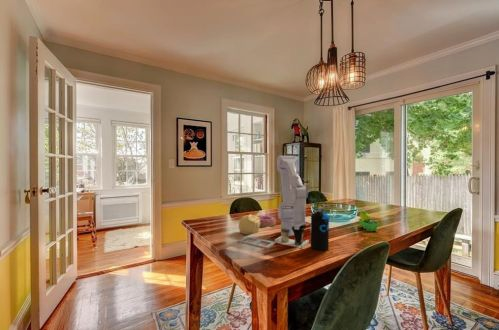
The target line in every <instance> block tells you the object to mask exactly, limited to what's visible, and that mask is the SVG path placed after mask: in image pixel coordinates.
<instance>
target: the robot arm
mask: <svg viewBox="0 0 499 330" xmlns="http://www.w3.org/2000/svg"><path fill="white" fill-rule="evenodd" d="M296 166H297V157H296V156H295V155H278V156H277V157H276V169H277V172H279V174H280V184H281V196H282V202H281V203H279V205H278V206H277V207H278V208H277V217H278V219H279V220H280V229H281V228H289V237H292V236H294V240H295V241H296V242H298V243H300V242H301V238H302V233H303V234H304V232H305V230H306V229H305V228H306V226H307V224H306V223H307V221H306V208H307V207H306V205H307V203H306V201H307V199H308V197H309V191H308V187H306V186H305V185H304V184H303V181H302V178H301V176H300V175H298V173H297V169H296ZM280 234H281V235H282V232H281V231H280Z"/></svg>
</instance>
